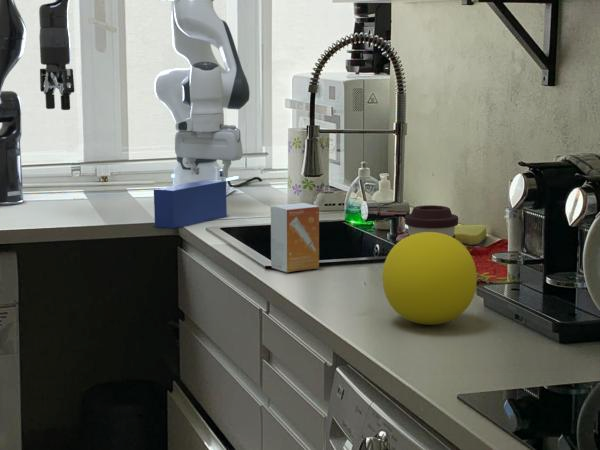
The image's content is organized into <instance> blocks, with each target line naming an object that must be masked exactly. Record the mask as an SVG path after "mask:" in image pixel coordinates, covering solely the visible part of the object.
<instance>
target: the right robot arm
mask: <svg viewBox="0 0 600 450" xmlns="http://www.w3.org/2000/svg"><path fill="white" fill-rule="evenodd" d="M160 1H163V2H169V0H160ZM170 1H171V6H170V7H171V8H170V16H171V17H170V18H171V19H170V21H171V34H172V47H173V49H174V51H175V52H176V53H177V54H178V55H180V56H181V57H183V58H185V59H186V60H187V62H188V64H189V65H190V68H173V69H167V70H163V71H161V72H159V73H158V75H157V76H156V78H155V80H154V85H153V87H154V93H155V96H156V97H157V99H158V100H159V101H160V102H161V103H163V105H164V106H166V108H167V109H168V110H169V111H170V113H171V115H172V117H173V120H174V123H175V124H174V125H175V130H176V133H175V136H174V153H175V156H176V162H177V164H176V166H175V167H174V168H173V173H172V174H171V178H173V180H172V186H175V185H180V184H186V183H192V182H197V181H203V180H220V181H226V196H228V195H229V194H231V193H233V192H234V191H236V189H235V188H240V187H242V186H245V185H248V184H249V183H251V182H254V181H255V180H258V182H263V179H262V178H261V177H260V176H254V177H251V178H249V179H246V180H245V181H243V182H239V183H238V184H232V183H231V181H234V180H238V179H239V176H238V175H236V176H232V177H228V175H229V169H230V167H231V165H232V162H236V161H240V160H241V159H242V158H243V156H244V152H243V151H244V150H243V144H242V137H241V133H242V132H241V129H239V127H237V126H236V125H234V124H231V125H230V124H225V111H224V110H225V109H227V110H241V109H242V108H243V107H244V106H245V105H246V104H247V103H248V102H249V100H250V96H251V95H250V94H251V91H250V90H251V89H250V84H249V82H248V79H247V76H246V74H245V72H244V70H243V67H242V63H241V60H240V57H239V54H238V51H237V48H236V44H235V41H234V38H233V35H232V33H231V29H230V26H229V25H228V23H227V22H226V21H225V20H223V19H221V18H220V16H218V14H217V12H216V11H215V7H214V0H170ZM212 46H213V47H215V48H216V49H217V50H218V51H219V52H220V56H221V59H222V62H223V66H224V67H223V66H222V65H221V64H220V63H219V61H218V60H217V58H216V57H215V54H214V52H213V50H212ZM218 161H221V163H222V165H223V167H222V166H221V165H220V164H219V163H218Z"/></svg>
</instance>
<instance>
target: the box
mask: <svg viewBox="0 0 600 450" xmlns="http://www.w3.org/2000/svg"><path fill="white" fill-rule="evenodd" d="M227 202H228V201H227V195H226V181H220V180H203V181H197V182H192V183H186V184H180V185H175V186H173V185H169V186H165V187H158V188H154V189H153V209H154V210H153V211H154V213H153V214H154V227H155V228H162V229H163V228H164V229H172V230H173V229H178V228H182V227H187V226H191V225H196V224H199V223H204V222H208V221H212V220H216V219H217V220H218V219H221V218H225V217H227V216H228V210H227V208H228V206H227Z"/></svg>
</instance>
